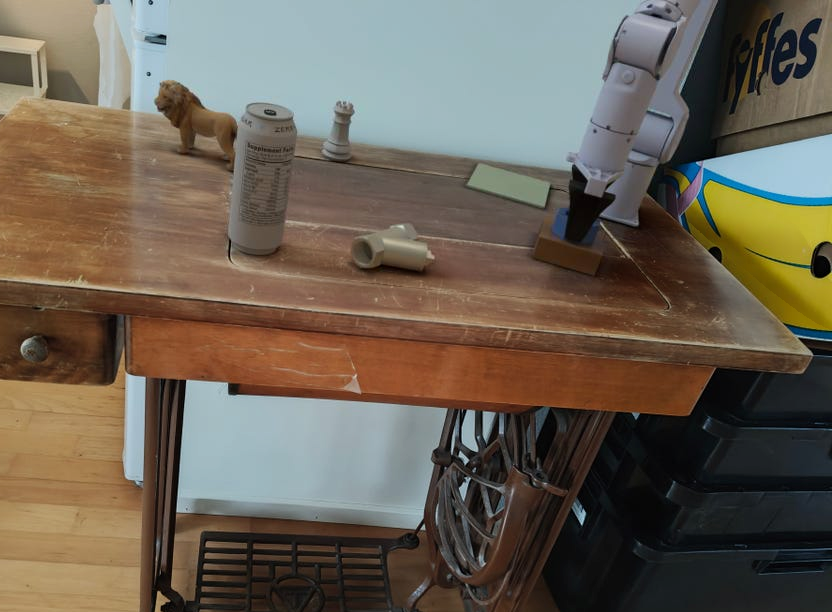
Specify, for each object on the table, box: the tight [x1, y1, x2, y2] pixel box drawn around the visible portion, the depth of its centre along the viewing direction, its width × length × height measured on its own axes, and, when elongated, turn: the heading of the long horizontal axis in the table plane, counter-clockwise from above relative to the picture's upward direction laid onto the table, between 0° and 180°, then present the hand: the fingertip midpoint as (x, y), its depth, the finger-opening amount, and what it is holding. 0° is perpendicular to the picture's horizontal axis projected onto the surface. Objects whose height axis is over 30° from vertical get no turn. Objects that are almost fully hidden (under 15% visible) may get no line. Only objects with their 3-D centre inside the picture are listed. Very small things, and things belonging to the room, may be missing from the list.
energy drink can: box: [227, 102, 298, 256], centre depth 77 cm, size 6×6×15 cm
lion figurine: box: [153, 79, 238, 172], centre depth 98 cm, size 15×5×9 cm, turn 73°
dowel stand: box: [531, 215, 604, 277], centre depth 93 cm, size 8×8×7 cm
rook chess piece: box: [321, 100, 355, 162], centre depth 108 cm, size 4×4×8 cm
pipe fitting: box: [350, 222, 435, 272], centre depth 82 cm, size 8×4×7 cm
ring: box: [552, 206, 601, 244], centre depth 93 cm, size 5×5×2 cm
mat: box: [465, 162, 551, 210], centre depth 114 cm, size 12×12×1 cm
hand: (573, 231), depth 93 cm, fingers closed on ring, 5 cm apart
